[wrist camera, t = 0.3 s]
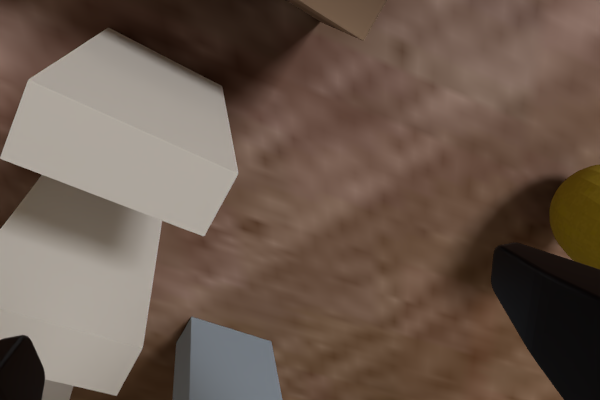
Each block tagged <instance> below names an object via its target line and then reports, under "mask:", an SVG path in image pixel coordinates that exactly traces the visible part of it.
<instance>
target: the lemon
mask: <svg viewBox="0 0 600 400" xmlns="http://www.w3.org/2000/svg"><path fill="white" fill-rule="evenodd" d="M549 218H550V226H551V229H552V232H553V234H554V237H555V239H556V240H557V242H558V244H559V245H560V246H561V247H562V248H563V250H564V251H565V252H566V253H567V255H568V256H569V257H570V258H571V259H572V260H574V261H576V262H579V263H582V264H585V265H588V266H591V267H594V268H597V269H600V165H594V166H590V167H587V168H585V169H582V170H580V171H578V172H576V173H574V174H573V175H571V176H570V177H568V178H567V179H566V180H565V181H564V182H563V183H562V184H561V185H560V186H559V188H558V189H557V190H556V192H555V194H554V196H553V198H552V201H551V205H550V209H549Z"/></svg>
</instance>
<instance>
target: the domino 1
mask: <svg viewBox="0 0 600 400" xmlns="http://www.w3.org/2000/svg"><path fill="white" fill-rule="evenodd" d="M72 389H73V386H72V385H68V384H63V383H59V382H55V381H50V380H46V379H45V383H44V389H43V395H42V400H69V399H70V396H71V392H72Z"/></svg>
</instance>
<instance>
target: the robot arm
mask: <svg viewBox="0 0 600 400" xmlns="http://www.w3.org/2000/svg"><path fill="white" fill-rule="evenodd" d="M491 284H492V288H493V290H494V292H495V294H496V296H497V298H498V299H499V301H500V303H501V304H502V306H503V308H504V310H505V311H506V313H507V315H508V316H509V318H510V320H511V322H512V323H513V325H514V327H515V328H516V330H517V332H518V334H519V335H520V337H521V339H522V340H523V342H524V344H525V345H526V347H527V349H528V350H529V352H530V353H531V355H532V356H533V358H534V359H535V360H536V362H537V363H538V365H539V366H540V367H541V369H542V370H543V372H544V373H545V374H546V376H547V377H548V378H549V380H550V381H551V382H552V384H553V385H554V387H555V388H556V389H557V391H558V392H559V393H560V395H561V396H562V397H563V399H564V400H600V269H597V268H594V267H591V266H588V265H585V264H582V263H579V262H576V261H573V260H569V259H566V258H563V257H560V256H557V255H554V254H551V253H548V252H545V251H542V250H539V249H535V248H532V247H529V246H526V245H523V244H520V243H509V244H504V245H499V246H497V247H496V248H495V250H494V254H493V264H492V274H491ZM44 383H45V372H44V368H43V365H42V363H41V361H40V358H39V356H38V354H37V352H36V350H35V347H34V345H33V343H32V341H31V339H30V338H29V337H28V336H26V335H19V336H14V337H8V338H4V339H1V340H0V400H42V395H43V389H44Z"/></svg>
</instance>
